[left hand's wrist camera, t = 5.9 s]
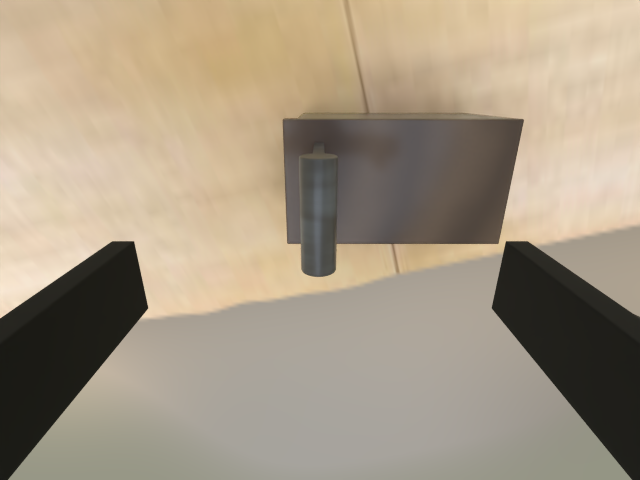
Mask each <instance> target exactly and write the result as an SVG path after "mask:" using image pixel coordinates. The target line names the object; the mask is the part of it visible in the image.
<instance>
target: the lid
mask: <svg viewBox="0 0 640 480" xmlns="http://www.w3.org/2000/svg"><path fill="white" fill-rule="evenodd" d="M523 122H524V120H523V119H515V118H285V119H283V140H284V166H285V193H286V220H287V243H288V244H301V269H302V271H303V272H304V273H305V274H307V275H309V276H314V277H323V276H328V275H331V274H332V273H334V272H335V270H336V244H498V243H499V238H500V233H501V229H502V224H503V219H504V214H505V209H506V204H507V199H508V194H509V190H510V185H511V180H512V175H513V170H514V165H515V160H516V156H517V151H518V146H519V141H520V136H521V131H522V126H523Z"/></svg>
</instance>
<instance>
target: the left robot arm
mask: <svg viewBox="0 0 640 480" xmlns="http://www.w3.org/2000/svg"><path fill="white" fill-rule="evenodd" d="M147 309H148V305H147V300H146V295H145V291H144V286H143V281H142V277H141V272H140V267H139V263H138V258H137V253H136V249H135V244H134V241H112V242H111V243H109V244H108V245H106V246H105V247H103V248H102V249H101V250H99V251H98V252H96V253H95V254H93V255H92V256H90V257H89V258H87V259H86V260H85V261H83V262H82V263H80V264H79V265H77V266H76V267H74V268H73V269H71V270H70V271H69V272H67V273H66V274H64V275H63V276H61V277H60V278H58V279H57V280H55V281H54V282H53V283H51V284H50V285H48V286H47V287H45V288H44V289H42V290H41V291H39V292H38V293H37V294H35V295H34V296H32V297H31V298H29V299H28V300H26V301H25V302H23V303H22V304H21V305H19V306H18V307H16V308H15V309H13V310H12V311H10V312H9V313H8V314H6V315H5V316H3V317H2V318H0V480H8V479H9V478H10V476H11V475H12V474H13V473H14V472H15V470H16V469H17V468H18V467H19V465H20V464H21V463H22V462H23V461H24V459H25V458H26V457H27V456H28V454H29V453H30V452H31V451H32V450H33V448H34V447H35V446H36V445H37V443H38V442H39V441H40V440H41V439H42V437H43V436H44V435H45V434H46V432H47V431H48V430H49V429H50V428H51V426H52V425H53V424H54V423H55V422H56V420H57V419H58V418H59V417H60V415H61V414H62V413H63V412H64V411H65V409H66V408H67V407H68V406H69V404H70V403H71V402H72V401H73V400H74V398H75V397H76V396H77V395H78V393H79V392H80V391H81V390H82V388H83V387H84V386H85V385H86V384H87V382H88V381H89V380H90V379H91V378H92V376H93V375H94V374H95V373H96V371H97V370H98V369H99V368H100V366H101V365H102V364H103V363H104V362H105V360H106V359H107V358H108V357H109V355H110V354H111V353H112V352H113V351H114V349H115V348H116V347H117V346H118V345H119V343H120V342H121V341H122V340H123V338H124V337H125V336H126V335H127V334H128V332H129V331H130V330H131V329H132V327H133V326H134V325H135V324H136V323H137V321H138V320H139V319H140V318H141V316H142V315H143V314H144V313H145V312H146V310H147ZM492 309H493V310H494V312H495V313H496V314H497V315H498V316H499V318H500V319H501V320H502V321H503V323H504V324H505V325H506V326H507V327H508V329H509V330H510V331H511V332H512V334H513V335H514V336H515V337H516V338H517V340H518V341H519V342H520V343H521V345H522V346H523V347H524V348H525V349H526V351H527V352H528V353H529V354H530V356H531V357H532V358H533V359H534V360H535V362H536V363H537V364H538V365H539V366H540V368H541V369H542V370H543V371H544V373H545V374H546V375H547V376H548V378H549V379H550V380H551V381H552V382H553V384H554V385H555V386H556V387H557V389H558V390H559V391H560V392H561V393H562V395H563V396H564V397H565V398H566V400H567V401H568V402H569V403H570V404H571V406H572V407H573V408H574V409H575V410H576V412H577V413H578V414H579V415H580V417H581V418H582V419H583V420H584V422H585V423H586V424H587V425H588V426H589V428H590V429H591V430H592V431H593V433H594V434H595V435H596V436H597V437H598V439H599V440H600V441H601V442H602V443H603V445H604V446H605V447H606V448H607V450H608V451H609V452H610V453H611V454H612V456H613V457H614V458H615V459H616V461H617V462H618V463H619V464H620V465H621V467H622V468H623V469H624V470H625V472H626V473H627V474H628V475H629V476H630V478H631V479H632V480H640V317H639V316H637V315H634V314H632V313H631V312H630V311H628V310H627V309H625V308H624V307H622V306H621V305H619V304H618V303H617V302H615V301H614V300H612V299H611V298H609V297H608V296H606V295H605V294H603V293H602V292H601V291H599V290H598V289H596V288H595V287H593V286H592V285H590V284H589V283H587V282H586V281H585V280H583V279H582V278H580V277H579V276H577V275H576V274H574V273H573V272H571V271H570V270H569V269H567V268H566V267H564V266H563V265H561V264H560V263H558V262H557V261H555V260H554V259H553V258H551V257H550V256H548V255H547V254H545V253H544V252H542V251H541V250H539V249H538V248H537V247H535V246H534V245H532V244H531V243H529V242H528V241H506V244H505V249H504V253H503V258H502V263H501V267H500V272H499V277H498V281H497V286H496V291H495V295H494V300H493V305H492Z"/></svg>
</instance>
